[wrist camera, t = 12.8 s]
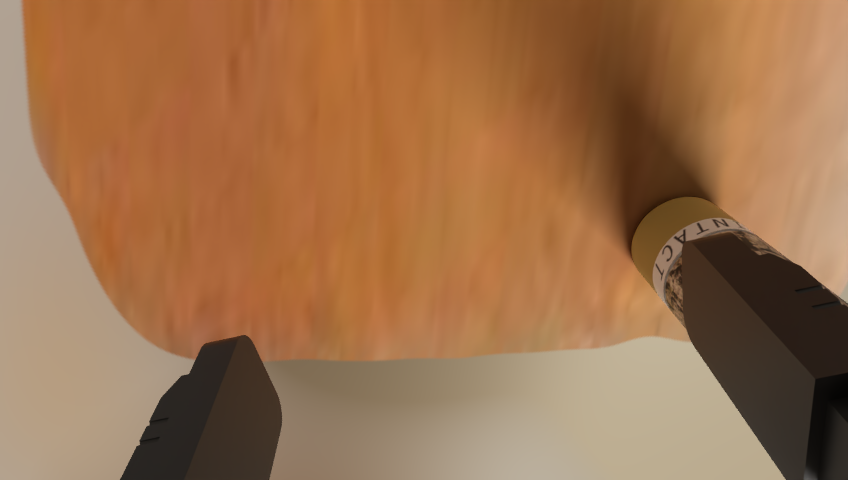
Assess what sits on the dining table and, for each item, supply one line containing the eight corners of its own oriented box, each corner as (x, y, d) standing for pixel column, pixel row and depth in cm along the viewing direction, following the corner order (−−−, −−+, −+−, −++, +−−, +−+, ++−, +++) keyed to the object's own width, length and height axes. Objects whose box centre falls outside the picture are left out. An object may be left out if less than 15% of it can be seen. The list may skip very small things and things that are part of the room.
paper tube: (736, 243, 42) (1143, 573, 20) (653, 295, 44) (947, 656, 22) (697, 173, 40) (1118, 465, 17) (610, 230, 41) (896, 569, 19)
